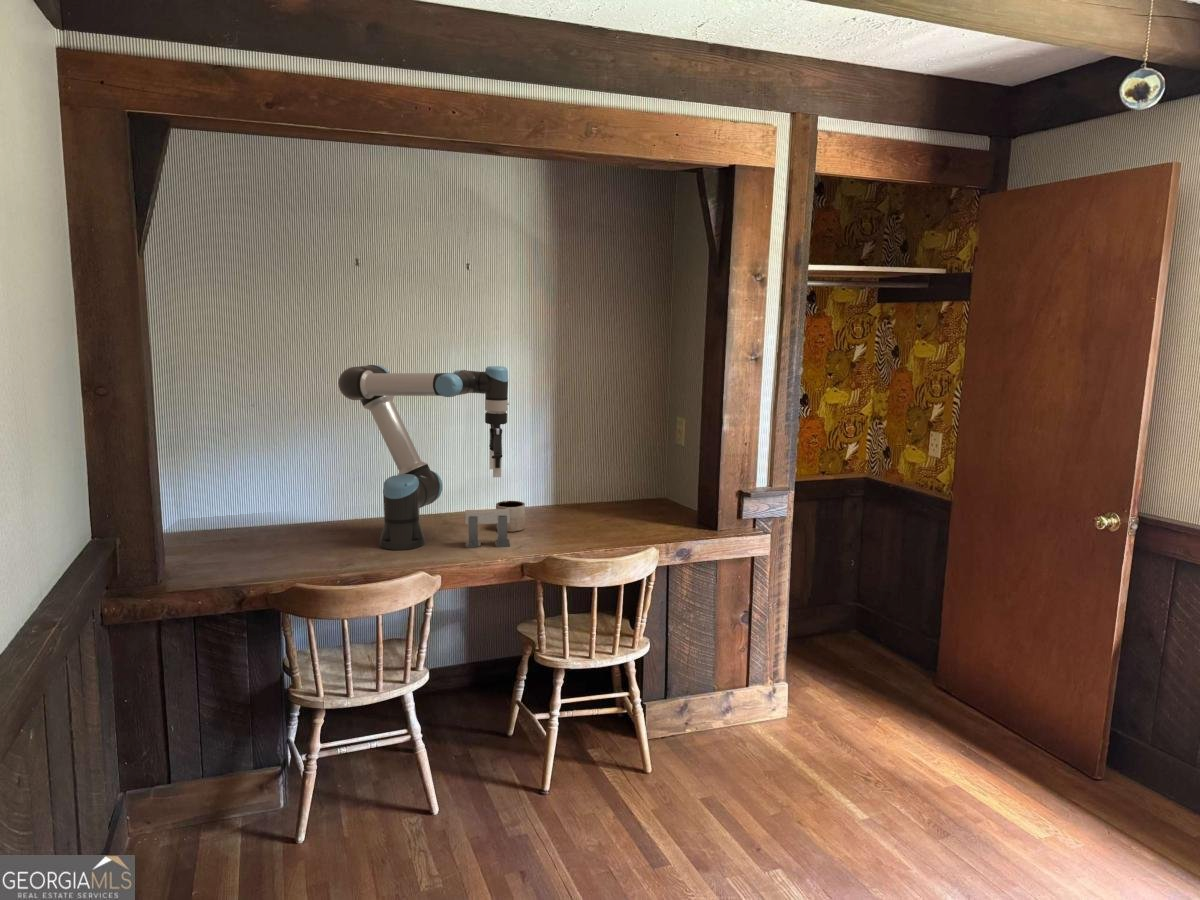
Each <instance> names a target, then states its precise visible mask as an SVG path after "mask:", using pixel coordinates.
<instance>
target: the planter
mask: <svg viewBox="0 0 1200 900" xmlns="http://www.w3.org/2000/svg"><path fill="white" fill-rule="evenodd" d="M525 504H526V503H525V502H522V501H519V500H502V501H499V502H496V503H495V509H509V510H510V523H507V533H518V532H520V531H524V530H525V528H526V505H525ZM495 529H496V530H497V531H498V524H497V523H495Z"/></svg>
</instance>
